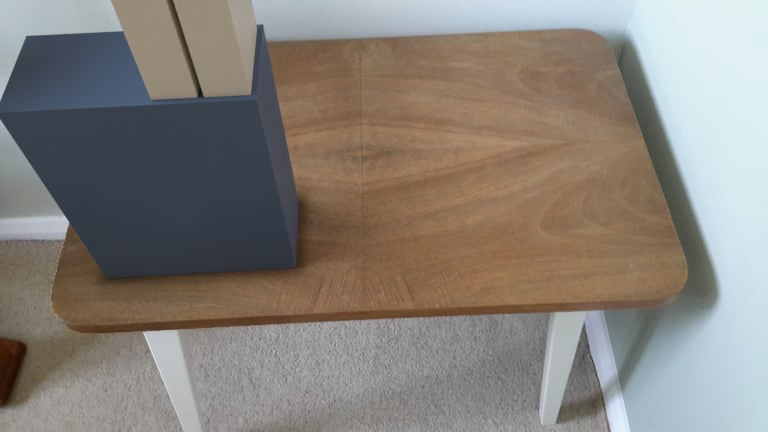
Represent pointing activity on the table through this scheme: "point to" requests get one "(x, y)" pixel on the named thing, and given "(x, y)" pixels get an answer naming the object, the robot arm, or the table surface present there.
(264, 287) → the table surface
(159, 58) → the grey bookend block
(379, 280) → the table surface
